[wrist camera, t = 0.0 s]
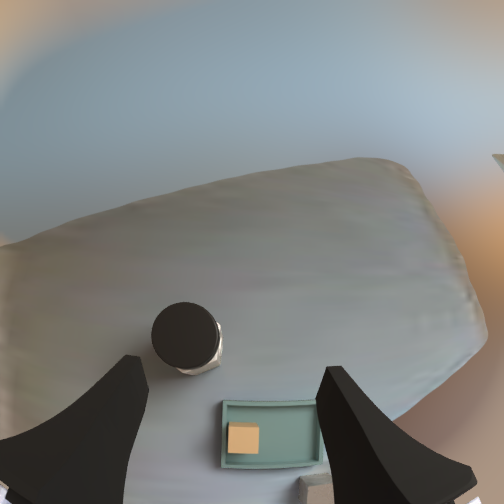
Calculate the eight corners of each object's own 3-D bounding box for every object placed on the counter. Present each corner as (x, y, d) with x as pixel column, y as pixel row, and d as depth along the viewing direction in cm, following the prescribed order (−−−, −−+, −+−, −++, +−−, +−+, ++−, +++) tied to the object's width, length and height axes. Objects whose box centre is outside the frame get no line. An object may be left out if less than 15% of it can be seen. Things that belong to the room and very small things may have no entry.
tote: (317, 460, 32) (322, 464, 30) (221, 463, 31) (221, 467, 29) (319, 399, 37) (324, 399, 35) (223, 399, 37) (222, 400, 34)
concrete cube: (325, 494, 29) (336, 505, 24) (298, 497, 29) (306, 510, 24) (327, 472, 31) (338, 482, 26) (299, 475, 31) (308, 486, 26)
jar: (220, 378, 38) (215, 376, 28) (169, 371, 38) (145, 365, 27) (226, 324, 42) (223, 302, 32) (176, 318, 42) (157, 294, 32)
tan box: (255, 445, 33) (258, 453, 28) (228, 445, 33) (228, 452, 28) (256, 422, 35) (259, 427, 30) (229, 421, 34) (228, 426, 30)
